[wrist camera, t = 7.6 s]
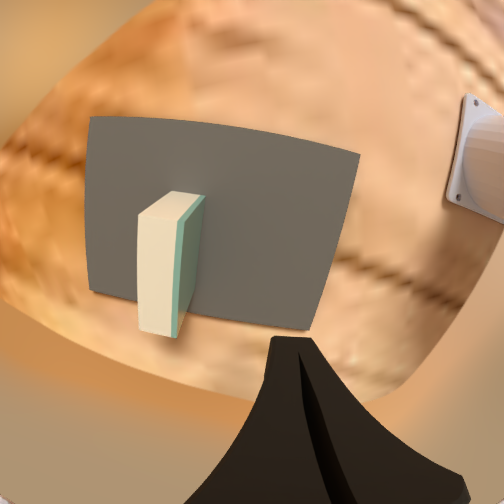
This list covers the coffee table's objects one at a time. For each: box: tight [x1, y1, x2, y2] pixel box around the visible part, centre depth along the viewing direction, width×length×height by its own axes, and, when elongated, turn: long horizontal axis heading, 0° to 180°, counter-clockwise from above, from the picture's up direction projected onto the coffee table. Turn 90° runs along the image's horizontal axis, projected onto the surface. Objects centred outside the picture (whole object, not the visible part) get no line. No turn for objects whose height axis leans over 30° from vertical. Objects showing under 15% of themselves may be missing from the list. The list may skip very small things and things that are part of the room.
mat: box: [85, 117, 360, 330], centre depth 17 cm, size 16×12×1 cm
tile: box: [137, 191, 206, 338], centre depth 15 cm, size 2×6×5 cm, turn 170°
